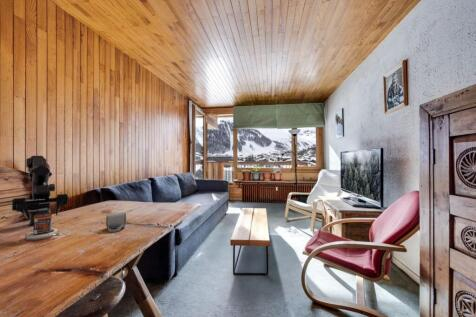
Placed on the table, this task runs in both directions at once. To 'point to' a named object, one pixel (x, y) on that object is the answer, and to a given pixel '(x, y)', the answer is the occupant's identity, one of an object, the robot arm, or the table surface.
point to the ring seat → (39, 237)
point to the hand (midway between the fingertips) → (43, 216)
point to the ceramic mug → (116, 221)
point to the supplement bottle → (42, 222)
